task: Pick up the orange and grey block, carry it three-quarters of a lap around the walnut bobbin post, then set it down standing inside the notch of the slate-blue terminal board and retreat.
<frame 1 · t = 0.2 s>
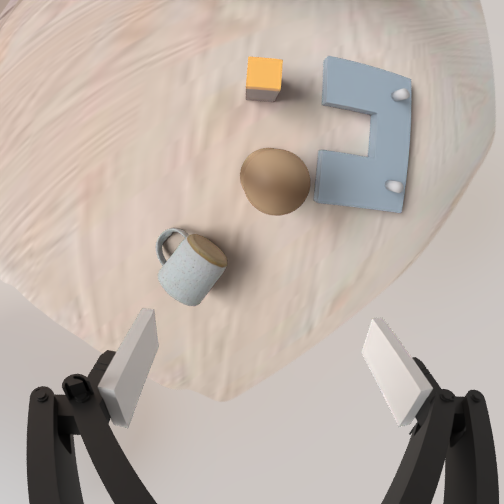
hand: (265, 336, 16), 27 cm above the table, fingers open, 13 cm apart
orange and grey block: (260, 88, 35), on the table
board: (363, 135, 38), on the table
ceramic mug: (189, 255, 43), on the table
bobbin: (268, 175, 40), on the table
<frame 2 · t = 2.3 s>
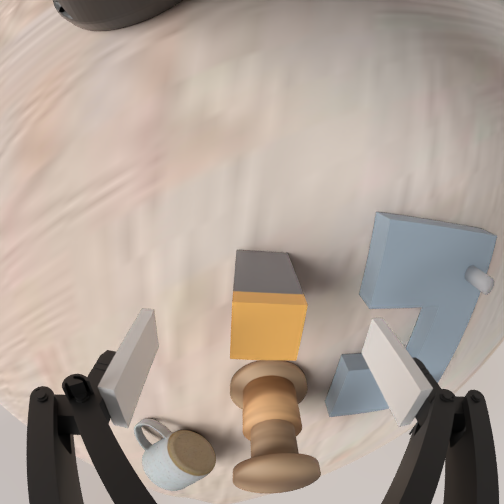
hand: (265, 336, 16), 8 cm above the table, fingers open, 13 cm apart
orange and grey block: (260, 274, 23), on the table
board: (408, 323, 25), on the table
ceramic mug: (173, 435, 31), on the table
bobbin: (268, 386, 27), on the table
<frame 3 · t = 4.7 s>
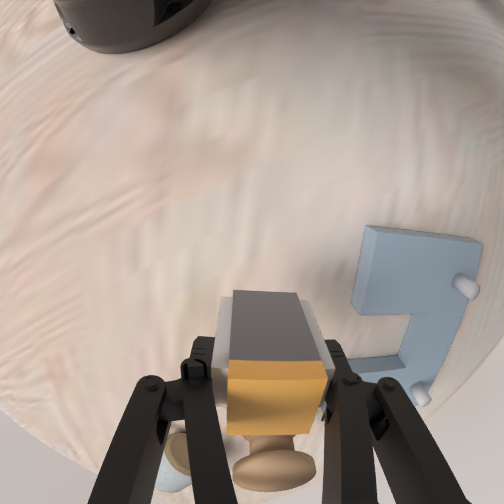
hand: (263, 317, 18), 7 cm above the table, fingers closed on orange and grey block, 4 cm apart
orange and grey block: (262, 318, 18), point 6 cm above the table, touching gripper
board: (399, 330, 27), on the table
ceramic mug: (170, 438, 32), on the table
bobbin: (266, 391, 29), on the table
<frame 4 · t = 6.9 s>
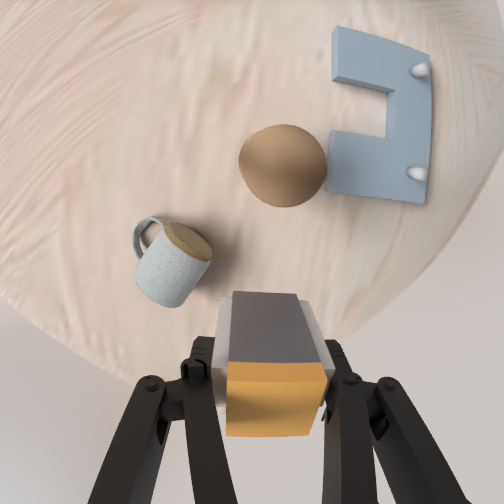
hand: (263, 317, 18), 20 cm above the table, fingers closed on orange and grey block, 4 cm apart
orange and grey block: (262, 319, 18), point 19 cm above the table, touching gripper
board: (380, 115, 31), on the table
ceramic mug: (171, 248, 37), on the table
bobbin: (271, 161, 33), on the table
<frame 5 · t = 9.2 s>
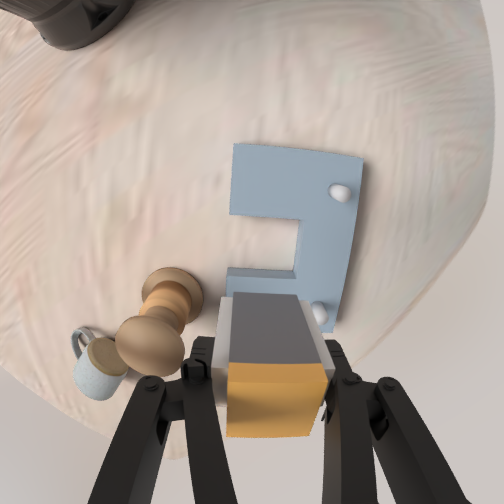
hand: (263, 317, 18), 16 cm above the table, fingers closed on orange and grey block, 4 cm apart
orange and grey block: (262, 320, 18), point 16 cm above the table, touching gripper
board: (288, 243, 33), on the table
ceramic mug: (102, 349, 39), on the table
bobbin: (172, 296, 35), on the table
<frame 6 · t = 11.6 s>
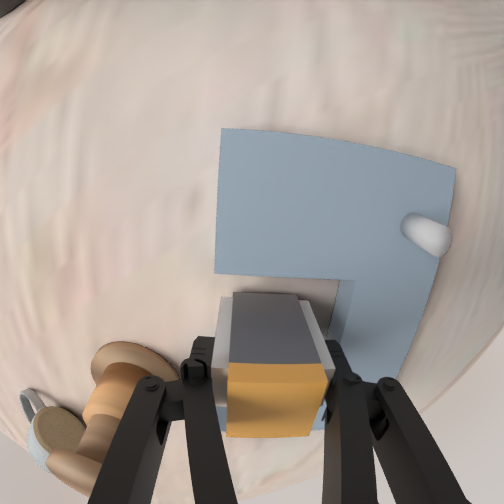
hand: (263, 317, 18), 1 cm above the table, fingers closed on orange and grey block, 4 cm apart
orange and grey block: (262, 320, 18), point 1 cm above the table, touching gripper
board: (319, 310, 19), on the table
ceramic mug: (58, 414, 24), on the table
bobbin: (136, 378, 21), on the table
when the fingers open (0 cm above the table, at t = 13.6 s): orange and grey block stays where it is, on the table.
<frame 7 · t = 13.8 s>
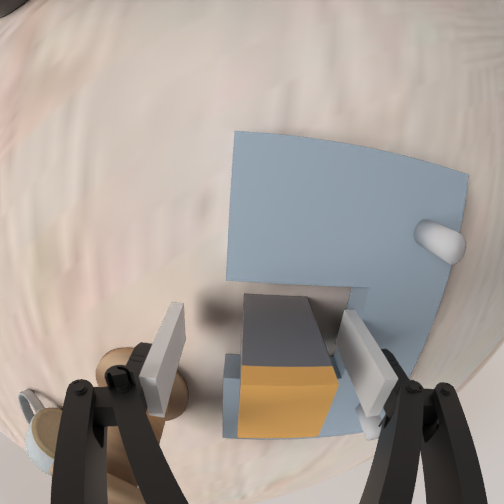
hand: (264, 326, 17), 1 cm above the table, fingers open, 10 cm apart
orange and grey block: (272, 321, 18), on the table
board: (330, 317, 18), on the table
ceramic mug: (57, 415, 24), on the table
bobbin: (142, 384, 20), on the table
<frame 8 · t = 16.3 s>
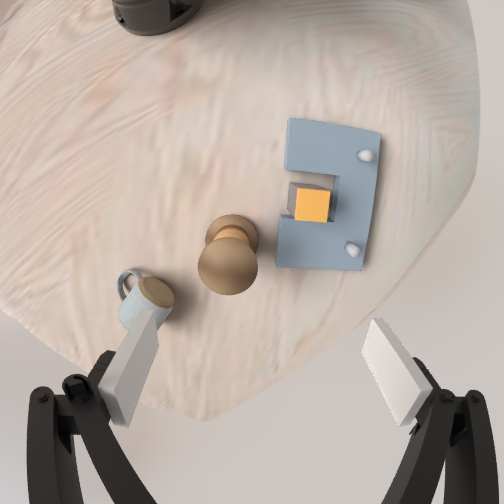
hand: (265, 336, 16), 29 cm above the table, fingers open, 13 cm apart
orange and grey block: (301, 196, 42), on the table
board: (326, 196, 42), on the table
ceramic mug: (146, 292, 47), on the table
bobbin: (231, 240, 44), on the table
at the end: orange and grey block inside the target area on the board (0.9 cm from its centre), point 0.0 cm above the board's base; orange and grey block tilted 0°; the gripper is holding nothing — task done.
